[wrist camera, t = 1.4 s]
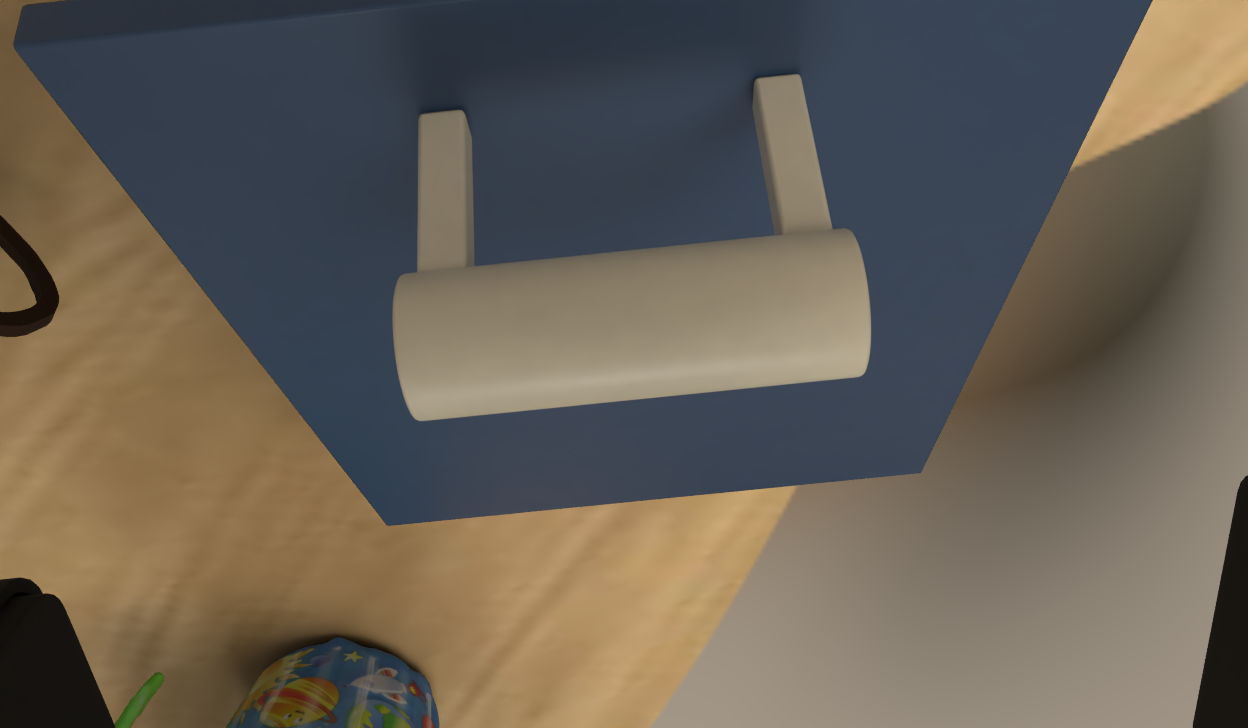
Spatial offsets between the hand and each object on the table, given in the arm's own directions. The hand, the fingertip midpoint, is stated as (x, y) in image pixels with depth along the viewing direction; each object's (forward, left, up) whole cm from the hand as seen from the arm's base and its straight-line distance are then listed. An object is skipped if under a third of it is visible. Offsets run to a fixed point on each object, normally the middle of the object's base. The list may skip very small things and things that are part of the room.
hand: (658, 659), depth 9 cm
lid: (+3, 0, -14) cm, 15 cm away
